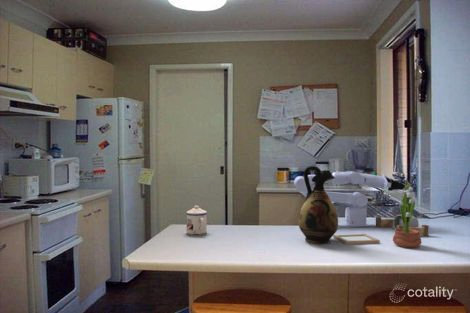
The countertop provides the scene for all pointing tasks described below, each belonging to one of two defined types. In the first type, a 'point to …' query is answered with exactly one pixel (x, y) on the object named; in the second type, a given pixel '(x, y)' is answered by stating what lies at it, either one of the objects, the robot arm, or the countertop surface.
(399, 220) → the ceramic mug
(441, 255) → the countertop surface
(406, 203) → the potted flower
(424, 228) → the cedar frame
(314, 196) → the ceramic jug
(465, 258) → the countertop surface
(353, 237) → the frame lid
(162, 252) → the countertop surface
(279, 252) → the countertop surface
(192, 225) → the teacup with lid
